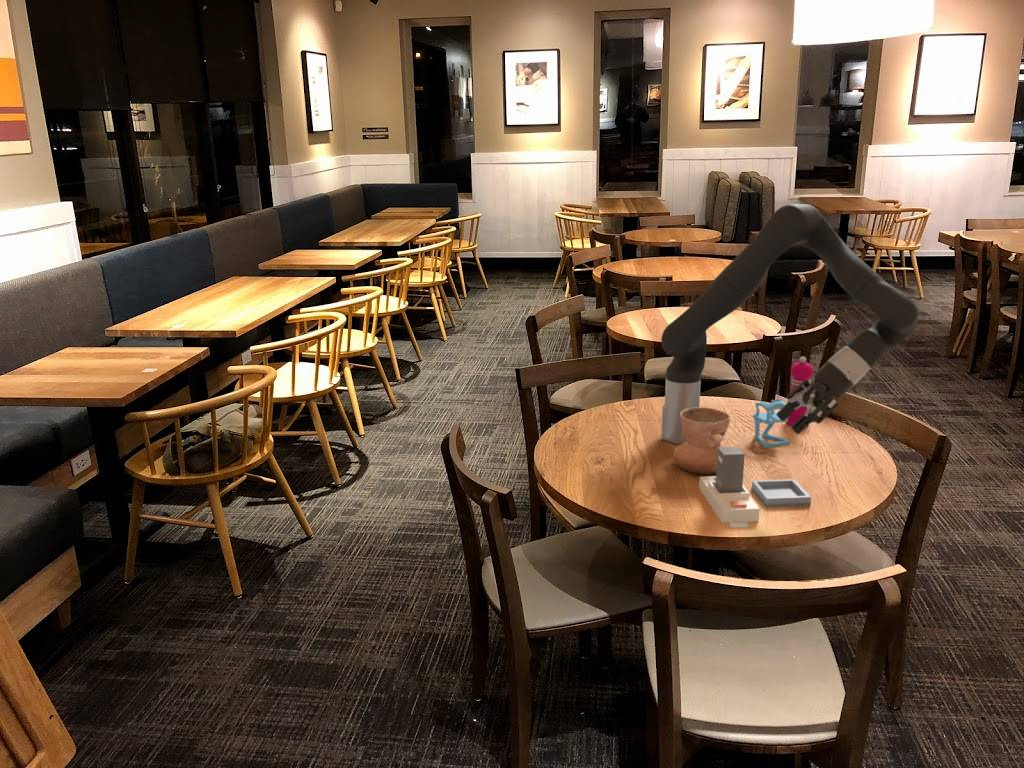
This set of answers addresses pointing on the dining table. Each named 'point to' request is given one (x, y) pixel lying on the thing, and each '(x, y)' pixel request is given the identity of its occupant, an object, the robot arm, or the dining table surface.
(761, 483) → the tray
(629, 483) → the dining table surface
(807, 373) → the pepper mill
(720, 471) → the block
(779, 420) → the chair
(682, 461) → the ceramic jug
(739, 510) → the white rectangular base
